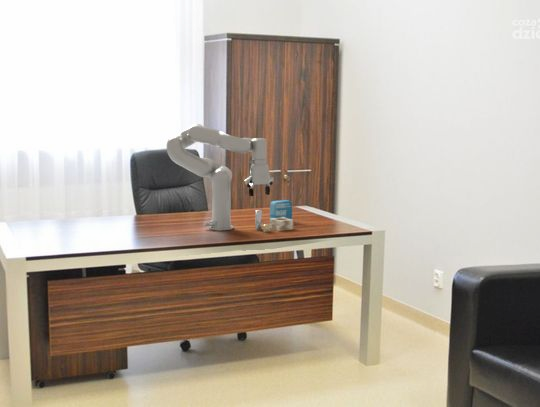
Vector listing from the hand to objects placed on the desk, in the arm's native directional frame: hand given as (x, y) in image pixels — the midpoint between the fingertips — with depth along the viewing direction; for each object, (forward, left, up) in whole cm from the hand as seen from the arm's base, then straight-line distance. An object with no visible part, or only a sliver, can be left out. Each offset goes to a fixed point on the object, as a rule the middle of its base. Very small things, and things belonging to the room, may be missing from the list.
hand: (259, 195), depth 373 cm
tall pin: (0, 0, -18) cm, 18 cm away
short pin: (0, -8, -18) cm, 20 cm away
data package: (+21, +11, -18) cm, 30 cm away
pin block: (+11, -4, -18) cm, 22 cm away
